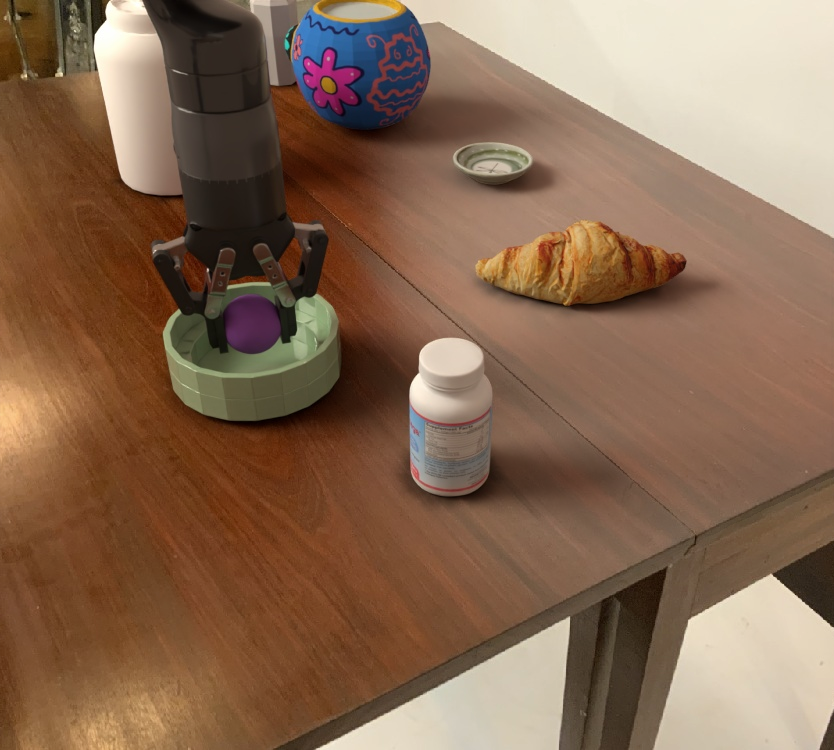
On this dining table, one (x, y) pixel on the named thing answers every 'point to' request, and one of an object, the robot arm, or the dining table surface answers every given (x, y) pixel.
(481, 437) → the pill bottle
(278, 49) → the faceted bottle
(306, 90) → the ceramic pot
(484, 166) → the saucer
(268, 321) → the ball
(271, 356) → the bowl
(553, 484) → the dining table surface
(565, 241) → the croissant
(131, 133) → the white plastic jug
